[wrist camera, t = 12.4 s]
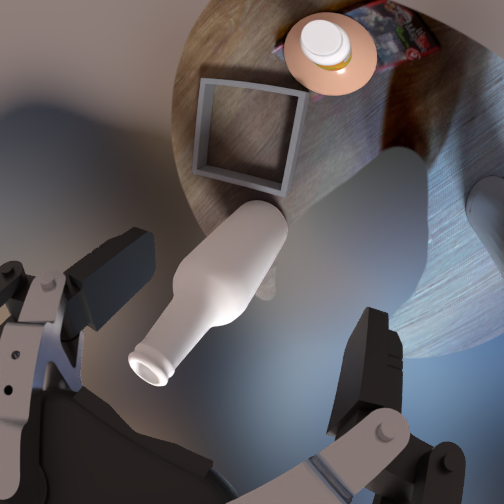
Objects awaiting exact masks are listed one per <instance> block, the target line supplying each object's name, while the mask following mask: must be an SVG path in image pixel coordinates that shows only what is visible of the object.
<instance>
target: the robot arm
mask: <svg viewBox="0 0 504 504" xmlns="http://www.w3.org/2000/svg"><path fill="white" fill-rule="evenodd" d="M466 214H467V218H468V221H469V223H470V225H471V227H472V228H473V230H474V231H475V233H476V234H477V236H478V237H479V239H480V240H481V242H482V243H483V245H484V246H485V248H486V250H487V251H488V253H489V254H490V256H491V258H492V259H493V261H494V263H495V264H496V266H497V268H498V270H499V271H500V273H501V275H502V277H503V278H504V179H502V178H500V177H497V176H488V177H484V178H483V179H481V180H479V181H478V182H477V183H476V184H475V185H474V186H473V188H472V189H471V191H470V193H469V195H468V199H467V203H466ZM155 268H156V261H155V244H154V235H153V233H152V232H149V231H146V230H144V229H141V228H138V227H133V228H131V229H130V230H128V231H127V232H125V233H124V234H122V235H120V236H117V237H114V238H111V239H109V240H107V241H106V242H104V243H103V244H102V245H100V246H99V248H96V249H94V250H93V251H92V253H89V254H88V255H86V256H85V257H84V258H82V259H81V260H79V261H78V262H77V263H75V264H74V265H73V266H71V267H70V268H69V269H67V270H66V271H65V272H63V273H62V272H60V271H58V270H48V271H45V272H43V273H41V274H39V275H38V276H36V277H35V276H31V275H27V274H25V271H24V268H23V265H22V263H20V262H18V261H10V262H7V263H5V264H3V265H1V266H0V307H1V306H2V305H4V304H6V306H7V308H8V310H9V312H10V314H11V316H10V317H8V318H7V319H6V321H4V322H3V323H2V325H0V504H350V503H351V501H352V498H353V496H354V495H356V494H357V493H358V492H359V491H360V490H361V489H363V488H364V487H365V488H367V489H368V490H370V491H372V492H374V493H375V496H374V500H373V503H372V504H461V501H462V494H463V486H464V477H465V466H466V461H465V456H464V453H463V451H462V450H461V448H459V446H458V445H456V444H455V443H452V442H442V443H440V444H439V445H437V446H435V447H433V446H431V445H429V444H427V443H425V442H424V441H422V440H420V439H418V438H416V437H415V436H413V435H412V434H411V433H410V428H409V425H408V422H407V420H406V419H405V418H404V416H403V415H402V414H401V408H402V384H403V383H402V382H403V372H402V369H403V361H402V359H403V346H402V343H401V341H400V338H399V336H398V334H397V332H395V331H391V330H389V319H388V313H386V312H383V311H380V310H377V309H374V308H370V307H367V308H366V309H365V310H364V312H363V314H362V316H361V318H360V319H359V321H358V323H357V325H356V327H355V329H354V331H353V333H352V334H351V336H350V338H349V340H348V342H347V345H346V348H345V352H344V356H343V362H342V367H341V372H340V377H339V382H338V386H337V392H336V396H335V400H334V404H333V409H332V413H331V417H330V421H329V425H328V429H327V433H326V435H330V436H334V437H335V441H334V442H333V443H332V444H331V445H329V446H328V447H327V448H325V449H324V450H322V451H321V452H319V453H318V454H316V455H315V456H312V457H310V458H309V459H307V460H305V461H304V462H302V463H301V464H299V465H297V466H296V467H294V468H292V469H291V470H289V471H288V472H286V473H284V474H283V475H281V476H279V477H278V478H275V479H274V480H272V481H270V482H268V483H266V484H265V485H263V486H261V487H259V488H257V489H255V490H253V491H251V492H249V493H247V494H245V495H243V496H241V497H239V496H238V494H237V492H236V491H235V490H234V488H233V487H232V486H231V484H230V483H229V482H228V481H227V480H226V479H225V478H224V477H223V476H222V475H221V474H219V473H218V472H217V471H216V470H214V469H213V468H212V467H213V461H212V460H209V459H207V458H205V457H203V456H200V455H198V454H196V453H194V452H192V451H190V450H187V449H185V448H183V447H181V446H179V445H177V444H175V443H171V442H167V441H163V440H159V439H156V438H152V437H149V436H146V435H142V434H139V433H137V432H135V431H134V430H132V429H131V428H130V427H129V425H128V424H126V422H125V421H124V420H123V419H122V418H121V417H120V416H119V415H118V414H117V413H116V412H115V410H114V409H113V408H112V407H111V406H110V405H109V404H108V403H106V402H105V401H103V400H102V399H100V398H99V397H98V396H96V395H95V394H93V393H92V392H91V391H89V390H88V389H86V388H85V387H84V386H83V385H82V381H81V361H82V351H83V342H84V331H83V329H84V328H85V327H86V326H89V327H91V328H92V329H93V330H95V331H98V330H99V329H100V328H101V327H102V326H103V325H104V324H105V323H106V322H107V321H108V320H109V319H110V318H111V317H112V316H113V315H114V314H115V313H116V312H117V311H119V309H121V308H122V307H123V306H124V305H125V304H126V303H127V302H128V301H129V300H130V299H131V298H132V297H133V296H134V295H135V294H136V293H137V292H138V291H139V290H140V289H141V288H142V287H143V286H144V285H145V284H147V283H148V282H149V281H150V280H151V278H152V277H153V275H154V272H155Z"/></svg>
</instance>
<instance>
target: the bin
mask: <svg viewBox="0 0 504 504" xmlns="http://www.w3.org/2000/svg"><path fill="white" fill-rule="evenodd" d="M215 84H216V85H226V86H235V87H243V88H251V89H258V90H264V91H270V92H276V93H282V94H287V95H292V96H297V97H299V98H298V103H297V109H296V114H295V119H294V125H293V130H292V135H291V141H290V146H289V151H288V156H287V161H286V167H285V172H284V177H283V182H282V183H278V182H274V181H271V180H267V179H263V178H259V177H255V176H251V175H247V174H243V173H239V172H235V171H231V170H227V169H222V168H218V167H214V166H209V165H206V164H207V153H208V143H209V134H210V124H211V115H212V107H213V99H214V91H215ZM309 96H310V93H309V92H304V91H299V90H294V89H289V88H283V87H277V86H271V85H265V84H258V83H250V82H242V81H233V80H223V79H211V78H201V82H200V90H199V99H198V108H197V117H196V128H195V139H194V151H193V164H192V174H196V175H200V176H204V177H209V178H213V179H217V180H221V181H225V182H229V183H233V184H236V185H240V186H244V187H248V188H252V189H255V190H259V191H263V192H266V193H270V194H274V195H277V196H281V197H284V198H286V196H287V195H288V194H289V192H290V191H291V186H292V181H293V177H294V172H295V167H296V162H297V157H298V152H299V148H300V143H301V138H302V133H303V128H304V122H305V117H306V112H307V107H308V102H309Z"/></svg>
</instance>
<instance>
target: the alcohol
mask: <svg viewBox="0 0 504 504" xmlns="http://www.w3.org/2000/svg"><path fill="white" fill-rule="evenodd" d="M287 233H288V227H287V223H286V220H285V218H284V216H283V215H282V213H281V212H280V211H279V210H278V209H277V208H276V207H275V206H273V205H272V204H270V203H268V202H265V201H260V200H254V201H249V202H246V203H244V204H243V205H241V206H240V207H239V208H238V209H237V210H236V211H235V212H234V213H233V214H232V215H230V216H229V217H228V218H227V219H226V220H225V221H224V222H223V223H222V224H221V225H220V226H218V227H217V228H216V229H215V230H214V231H213V232H212V233H211V234H210V235H209V236H208V237H207V238H206V239H205V240H204V241H202V242H201V243H200V244H199V245H198V246H197V247H196V248H195V249H194V250H193V251H192V252H191V253H190V254H189V255H188V256H187V257H186V258H185V259H184V260H183V261H182V262H181V263H180V265H179V267H178V269H177V271H176V273H175V275H174V279H173V292H174V297H173V300H172V301H171V302H170V304H169V305H168V307H167V308H166V309H165V311H164V312H163V313H162V315H161V316H160V318H159V319H158V320H157V322H156V323H155V324H154V326H153V327H152V329H151V330H150V331H149V333H148V334H147V336H146V337H145V338H144V340H143V341H142V343H139V344H138V345H137V346H136V347H135V351H134V352H131V353H130V354H129V356H128V360H129V364H130V366H131V368H132V369H133V370H134V372H135V373H136V374H137V375H138V376H139V377H141V378H142V379H143V380H145V381H146V382H148V383H150V384H152V385H155V386H164V385H166V384H167V382H168V378H169V377H171V376H172V375H173V374H174V372H175V368H176V367H177V366H178V365H179V364H180V362H181V361H182V360H183V359H184V358H185V356H186V355H187V354H188V353H189V352H190V351H191V349H192V348H193V347H194V346H195V345H196V343H197V342H198V341H199V340H200V339H201V337H202V336H203V335H204V334H205V333H206V332H207V331H208V329H209V328H210V327H212V326H221V325H224V324H228V323H230V322H232V321H233V320H235V319H236V318H237V317H238V316H239V315H241V314H242V313H243V311H244V310H245V309H246V307H247V306H248V304H249V302H250V301H251V299H252V297H253V295H254V294H255V292H256V290H257V289H258V287H259V285H260V284H261V282H262V280H263V278H264V277H265V275H266V273H267V271H268V270H269V268H270V266H271V265H272V263H273V261H274V259H275V258H276V256H277V254H278V252H279V251H280V249H281V247H282V245H283V244H284V242H285V240H286V238H287Z"/></svg>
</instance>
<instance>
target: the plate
mask: <svg viewBox="0 0 504 504" xmlns="http://www.w3.org/2000/svg"><path fill="white" fill-rule="evenodd" d="M314 20H326V21H329V22H332V23H335V24H337V25H339V26H340V27H341V28H343V29H344V30H345V32H346V33H347V35H348V37H349V39H350V44H351V48H352V58H351V61H350V63H349V64H348V65H347V66H346V67H345V68H343V69H342V70H339V71H327V70H324V69H322V68H320V67H318V66H317V65H316V64H315V63H313V62H312V61H311V60H310V59H308V58H307V57H306V56H305V54H304V53H303V51H302V49H301V46H300V36H301V32H302V30H303V28H304V27H305V25H307V24H308V23H309V22H311V21H314ZM284 56H285V61H286V64H287V66H288V69H289V71H290V72H291V74H292V75H293V76H294V77H295V79H296V80H297V81H298V82H300V83H301V84H302V85H303V86H305V87H306V88H308V89H310V90H312V91H314V92H317V93H320V94H324V95H333V96H337V95H345V94H349V93H352V92H354V91H356V90H358V89H360V88H361V87H363V86H364V85H365V84H366V83H367V82H368V81H369V80H370V78H371V77H372V75H373V73H374V71H375V68H376V63H377V52H376V47H375V44H374V41H373V39H372V37H371V36H370V34H369V33H368V32H367V30H366V29H365V28H364V27H363V26H362V25H360V24H359V23H358V22H356V21H355V20H353V19H351V18H349V17H347V16H344V15H341V14H337V13H330V12H324V13H317V14H312V15H310V16H307V17H305V18H303V19H302V20H300V21H299V22H297V23H296V24H295V25H294V26H293V28H292V29H291V30H290V32H289V33H288V35H287V38H286V41H285V45H284Z"/></svg>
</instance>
